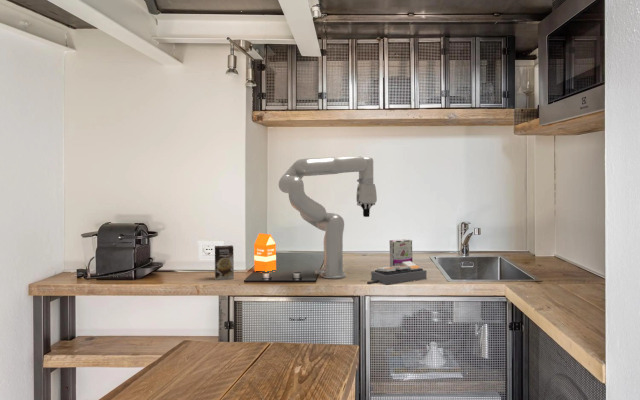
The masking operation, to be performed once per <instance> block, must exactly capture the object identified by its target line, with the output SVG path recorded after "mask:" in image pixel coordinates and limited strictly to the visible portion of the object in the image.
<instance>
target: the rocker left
mask: <svg viewBox="0 0 640 400" xmlns="http://www.w3.org/2000/svg"><path fill="white" fill-rule="evenodd" d="M376 270H377V271H386V272H388V271H396V268H393V267H390V266H383V267H377V268H376Z"/></svg>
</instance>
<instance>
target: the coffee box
mask: <svg viewBox="0 0 640 400" xmlns="http://www.w3.org/2000/svg"><path fill="white" fill-rule="evenodd" d="M234 262H235V261H234V245H233V244H232V245H231V244H230V245H215V246H214V279H215V281H221V280H233V279H235V271H234V270H235V269H234V268H235V267H234V266H235V265H234Z"/></svg>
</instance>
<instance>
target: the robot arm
mask: <svg viewBox="0 0 640 400" xmlns="http://www.w3.org/2000/svg"><path fill="white" fill-rule="evenodd" d="M357 172H358V179H356V182H358V184H357V187H356V195H355V196H356V199H355V200H356V206H359V207H360V208H361V209H362V215H363V218H369V217H370V213H371V212H370V211H371V208H372V206H375V205H376V203H377V199H378V198H377V188H376V184H375V183H374V159H373V158H372V157H363V156H361V155H360V156H344V157H341V156H340V157H339V156H333V157H332V156H328V157H310V158H300V159H298V160H296V161H295V162H293V164H291V166H290V167H289V168H288V169H287V170H286V171H285V173H284V174H283V175H282V176H281V177H280V179H279V180H278V189H279V190H280V191H281V192H282V193H285V194H287V195H288V199H289V200H288V201H289V203H290V204H291V207H293V209H295V210H296V211H297V212H299V214H300V216H301V219H303V220H304V221H306V222H307V224H308V223H309V225H311V226H313V227H315V228H317V230H321V231H324V232H325V233H324V237H323V266H322V267H321V268H320V269H315V271H314V274H316V275H320V276H321V278H324V279H329V280H331V279H343V278H345V277H347V273H345V272H344V269H343V267H344V264H343V263H344V261H343V257H344V255H343V250H344V249H343V245H344V244H343V235H344V230H345V220H344V218H343V217H342V216H341V215H340V214H338V213H334V212H327V210H326V208H325V207H324V206H323V205H322V204H320V203H319V202H317V201H316V200H314V199H313V198H311V197H309V196H308V195H307V194H306V193H305V187H304V181H303V177H311V176H313V177H315V176H327V175H339V174H343V173H345V174H346V173H357Z"/></svg>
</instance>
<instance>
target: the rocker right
mask: <svg viewBox="0 0 640 400" xmlns="http://www.w3.org/2000/svg"><path fill="white" fill-rule="evenodd" d="M402 264H403V265H404V266H408V269H410V270H417V269H421V267H420V266H418V265H417V264H415V263H414V262H413V261H412V262H411V261H407V262H402Z"/></svg>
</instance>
